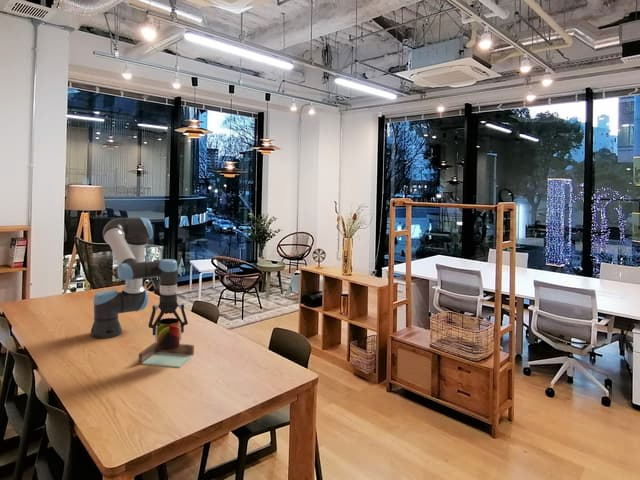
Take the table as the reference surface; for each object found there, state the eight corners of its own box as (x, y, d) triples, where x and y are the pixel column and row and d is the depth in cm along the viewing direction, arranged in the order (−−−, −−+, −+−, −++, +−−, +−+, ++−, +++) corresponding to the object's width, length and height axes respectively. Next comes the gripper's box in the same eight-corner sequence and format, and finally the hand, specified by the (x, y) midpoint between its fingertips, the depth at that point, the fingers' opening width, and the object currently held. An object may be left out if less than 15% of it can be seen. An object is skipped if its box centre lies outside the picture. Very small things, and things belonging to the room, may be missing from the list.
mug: (178, 339, 204) (178, 314, 202) (180, 349, 191) (180, 323, 190) (156, 340, 200) (156, 316, 199) (157, 351, 187) (157, 325, 186)
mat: (142, 364, 193) (142, 363, 193) (157, 352, 206) (157, 351, 206) (179, 367, 191) (179, 366, 191) (192, 356, 204) (192, 354, 204)
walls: (138, 364, 193) (138, 353, 192) (155, 351, 208) (155, 341, 208) (179, 367, 191) (179, 357, 190) (194, 354, 206) (194, 344, 206)
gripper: (142, 296, 185) (142, 345, 187) (194, 293, 194) (194, 340, 196) (141, 292, 192) (142, 340, 194) (192, 290, 201) (192, 335, 203)
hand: (168, 340), depth 195 cm, fingers closed on mug, 10 cm apart
